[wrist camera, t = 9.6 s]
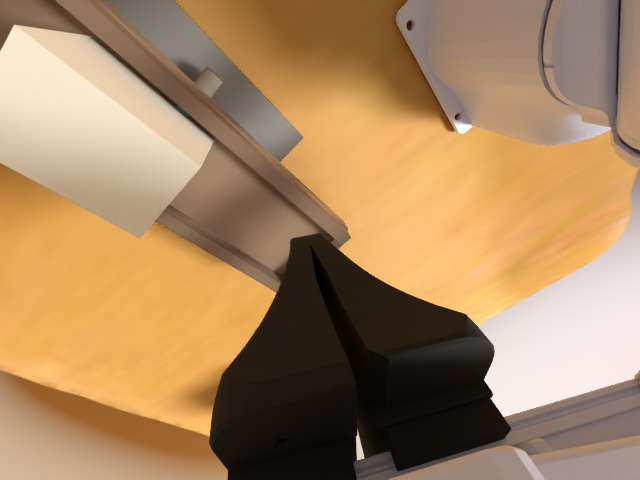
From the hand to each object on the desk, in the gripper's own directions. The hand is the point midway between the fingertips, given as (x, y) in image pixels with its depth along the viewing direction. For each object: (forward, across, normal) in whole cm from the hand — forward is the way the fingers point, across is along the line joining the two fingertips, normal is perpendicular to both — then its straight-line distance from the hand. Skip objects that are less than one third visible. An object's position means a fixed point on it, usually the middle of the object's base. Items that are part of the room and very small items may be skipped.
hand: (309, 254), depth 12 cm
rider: (+7, +7, -5) cm, 11 cm away
